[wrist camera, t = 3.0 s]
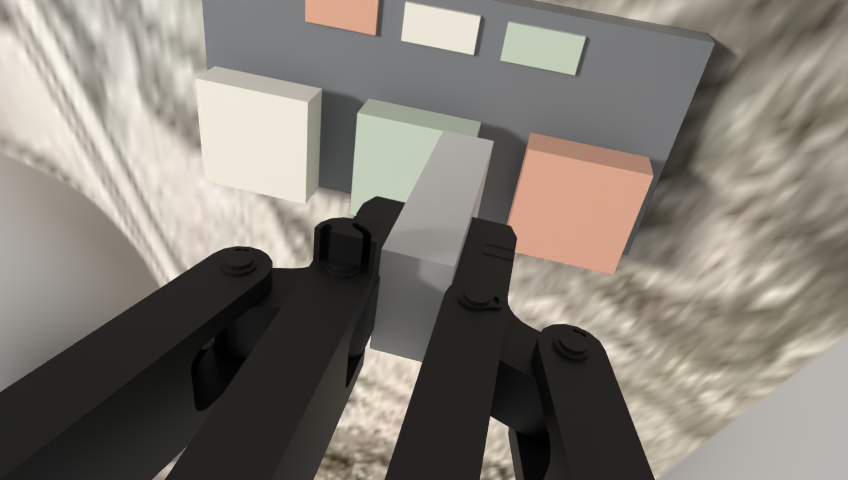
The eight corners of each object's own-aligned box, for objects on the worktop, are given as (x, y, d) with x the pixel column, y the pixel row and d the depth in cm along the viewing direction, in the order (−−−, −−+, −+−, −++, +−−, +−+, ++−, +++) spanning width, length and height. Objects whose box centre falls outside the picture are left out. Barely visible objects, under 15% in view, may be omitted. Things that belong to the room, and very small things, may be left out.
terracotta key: (505, 229, 39) (502, 249, 37) (530, 132, 35) (528, 149, 33) (611, 252, 39) (613, 274, 37) (648, 157, 35) (653, 175, 33)
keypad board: (227, 150, 45) (212, 164, 43) (214, -60, 37) (195, -55, 35) (624, 240, 42) (627, 258, 40) (708, 33, 34) (716, 44, 32)
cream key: (221, 164, 41) (204, 180, 39) (215, 66, 37) (195, 78, 35) (318, 186, 40) (305, 204, 38) (322, 88, 36) (307, 102, 34)
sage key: (360, 196, 40) (349, 214, 38) (368, 98, 36) (357, 112, 34) (461, 219, 40) (455, 238, 38) (481, 122, 36) (476, 138, 34)
